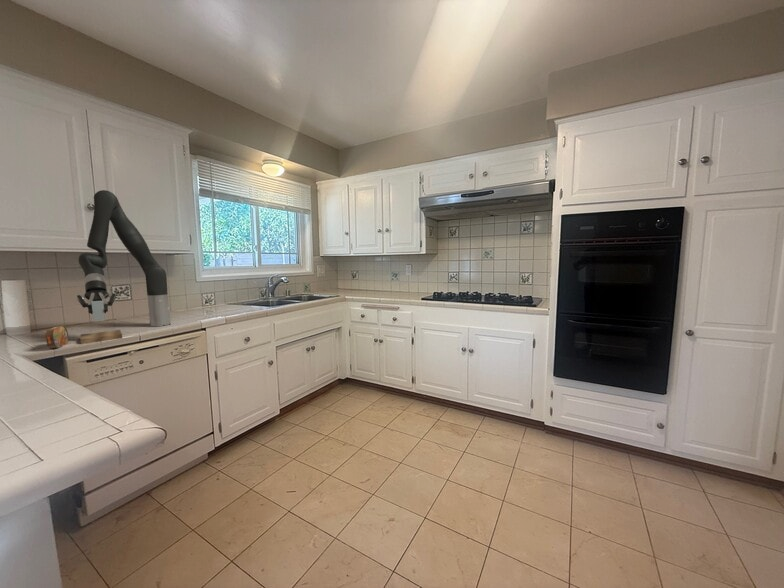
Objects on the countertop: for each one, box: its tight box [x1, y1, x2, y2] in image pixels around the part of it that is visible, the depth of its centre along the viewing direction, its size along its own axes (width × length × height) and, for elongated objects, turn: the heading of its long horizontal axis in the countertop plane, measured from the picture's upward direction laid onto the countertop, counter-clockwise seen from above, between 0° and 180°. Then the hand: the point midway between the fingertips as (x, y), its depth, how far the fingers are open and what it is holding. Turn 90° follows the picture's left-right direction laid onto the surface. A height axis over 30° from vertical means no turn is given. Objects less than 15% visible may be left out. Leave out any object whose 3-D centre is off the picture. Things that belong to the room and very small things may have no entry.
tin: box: [45, 325, 69, 350], centre depth 137 cm, size 15×3×8 cm, turn 29°
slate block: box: [92, 301, 106, 322], centre depth 149 cm, size 4×4×9 cm
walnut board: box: [80, 329, 123, 345], centre depth 151 cm, size 14×14×2 cm
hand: (98, 312), depth 148 cm, fingers closed on slate block, 4 cm apart
